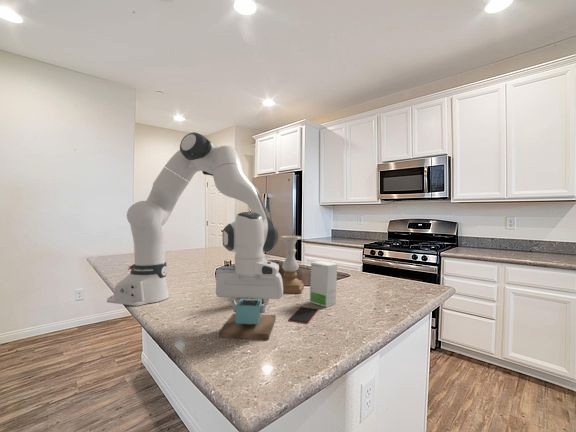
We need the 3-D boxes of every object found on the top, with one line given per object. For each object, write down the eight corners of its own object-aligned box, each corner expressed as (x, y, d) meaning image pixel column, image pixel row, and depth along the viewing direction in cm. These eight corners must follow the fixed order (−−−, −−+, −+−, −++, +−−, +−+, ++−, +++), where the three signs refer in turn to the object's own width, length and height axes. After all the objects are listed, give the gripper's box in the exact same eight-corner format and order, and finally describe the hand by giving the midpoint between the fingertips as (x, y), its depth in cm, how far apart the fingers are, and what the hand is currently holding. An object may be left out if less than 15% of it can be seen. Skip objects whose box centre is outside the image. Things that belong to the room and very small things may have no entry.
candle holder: (304, 287, 130) (304, 235, 129) (301, 293, 119) (301, 237, 118) (280, 285, 132) (281, 235, 131) (275, 292, 121) (276, 237, 120)
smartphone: (319, 309, 100) (307, 323, 87) (319, 310, 100) (307, 325, 87) (300, 306, 103) (286, 320, 89) (300, 308, 103) (286, 322, 89)
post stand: (218, 337, 78) (218, 308, 78) (233, 318, 92) (233, 293, 92) (268, 339, 77) (268, 310, 76) (275, 319, 91) (275, 295, 90)
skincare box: (309, 302, 107) (309, 262, 107) (319, 298, 112) (319, 260, 112) (327, 307, 102) (327, 265, 101) (337, 303, 107) (337, 262, 106)
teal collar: (235, 323, 80) (235, 306, 80) (240, 314, 87) (240, 298, 87) (258, 324, 80) (258, 306, 80) (261, 315, 87) (261, 299, 86)
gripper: (212, 267, 82) (212, 314, 82) (281, 269, 80) (281, 317, 80) (219, 263, 88) (219, 307, 88) (283, 264, 86) (283, 309, 87)
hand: (249, 312), depth 84 cm, fingers closed on teal collar, 7 cm apart
